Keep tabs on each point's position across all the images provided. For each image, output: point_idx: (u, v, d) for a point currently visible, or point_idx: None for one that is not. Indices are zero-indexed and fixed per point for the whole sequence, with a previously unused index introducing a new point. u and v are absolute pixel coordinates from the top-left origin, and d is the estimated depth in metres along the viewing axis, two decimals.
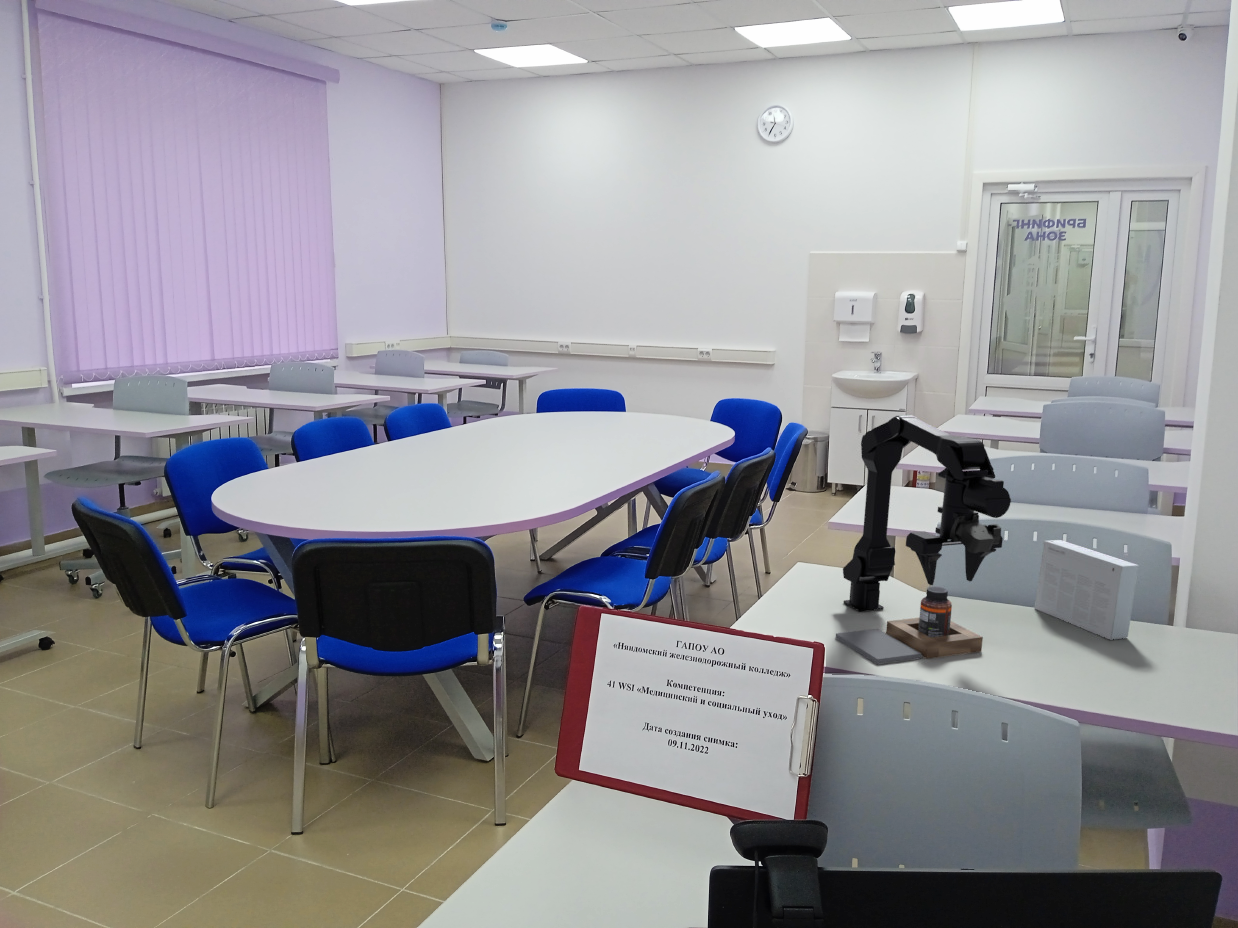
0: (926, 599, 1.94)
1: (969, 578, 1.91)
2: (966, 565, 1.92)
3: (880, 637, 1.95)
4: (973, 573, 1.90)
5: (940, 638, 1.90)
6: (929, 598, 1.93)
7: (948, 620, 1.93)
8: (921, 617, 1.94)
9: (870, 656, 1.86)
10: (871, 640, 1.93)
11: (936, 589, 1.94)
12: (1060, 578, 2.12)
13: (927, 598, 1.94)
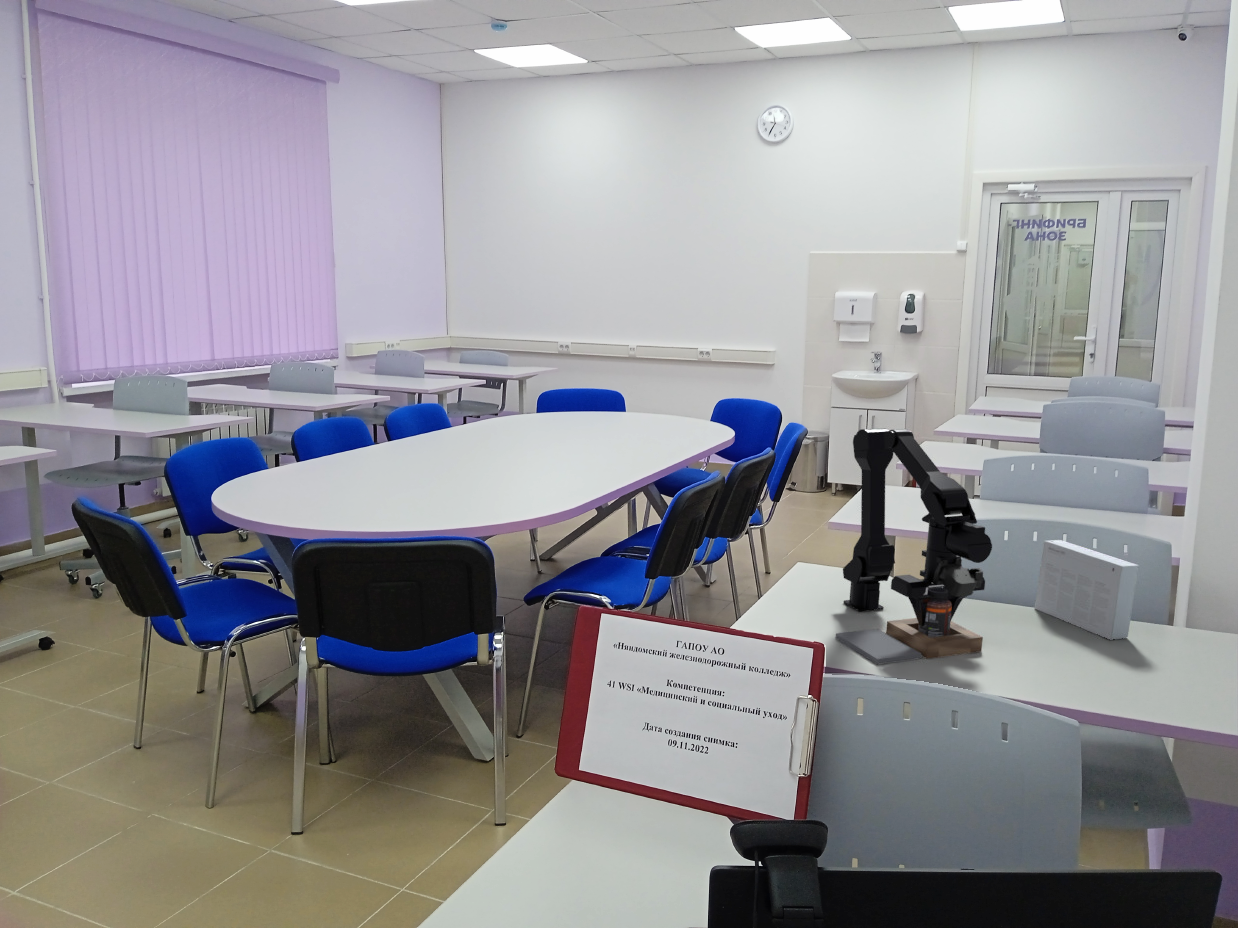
0: None
1: None
2: None
3: (880, 637, 1.95)
4: (951, 615, 1.95)
5: (940, 638, 1.90)
6: None
7: (948, 620, 1.93)
8: None
9: (870, 656, 1.86)
10: (871, 640, 1.93)
11: (936, 589, 1.94)
12: (1060, 578, 2.12)
13: None
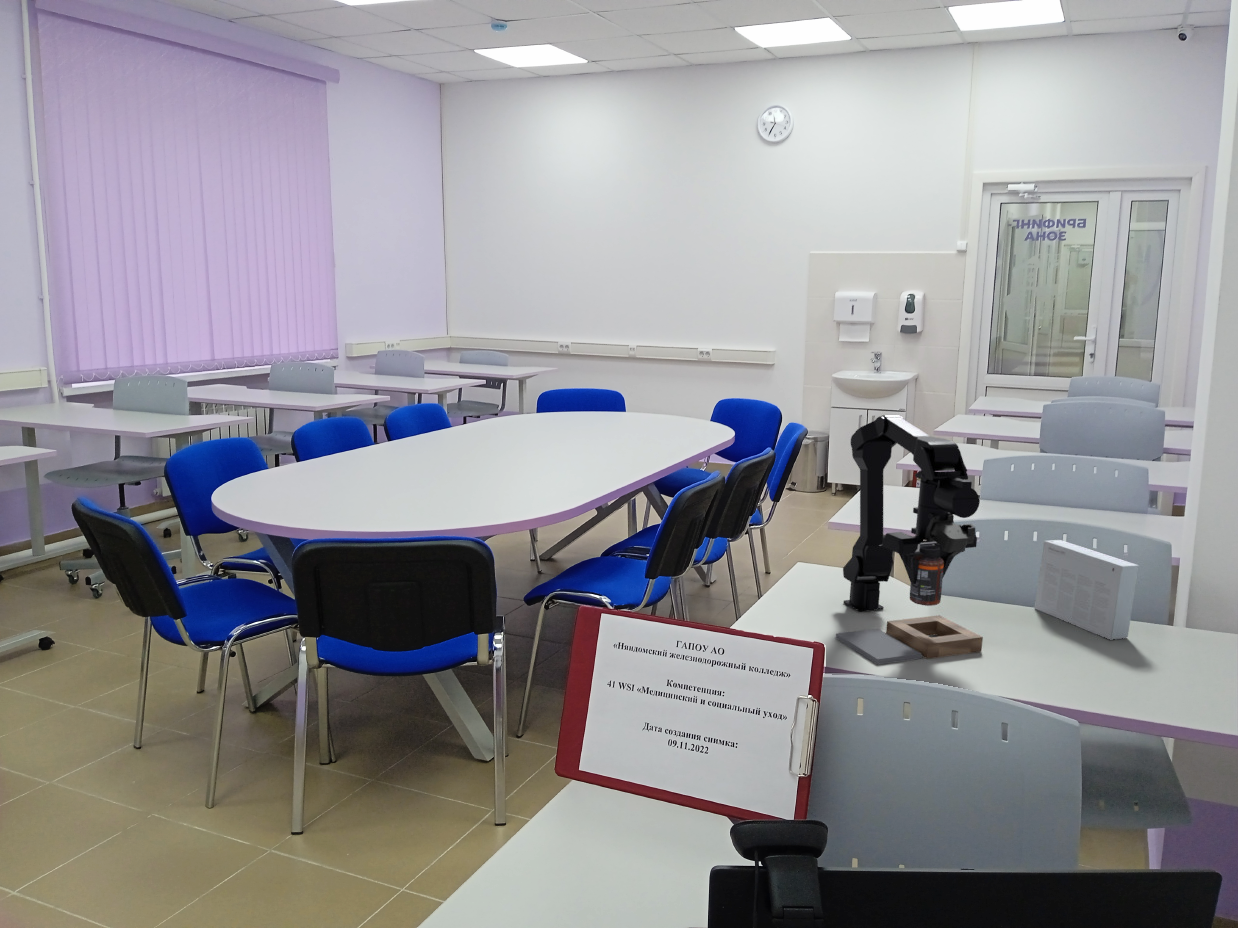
0: None
1: None
2: None
3: (880, 637, 1.95)
4: (943, 573, 1.93)
5: (940, 638, 1.90)
6: None
7: (940, 578, 1.90)
8: None
9: (870, 656, 1.86)
10: (871, 640, 1.93)
11: (928, 546, 1.91)
12: (1060, 578, 2.12)
13: None
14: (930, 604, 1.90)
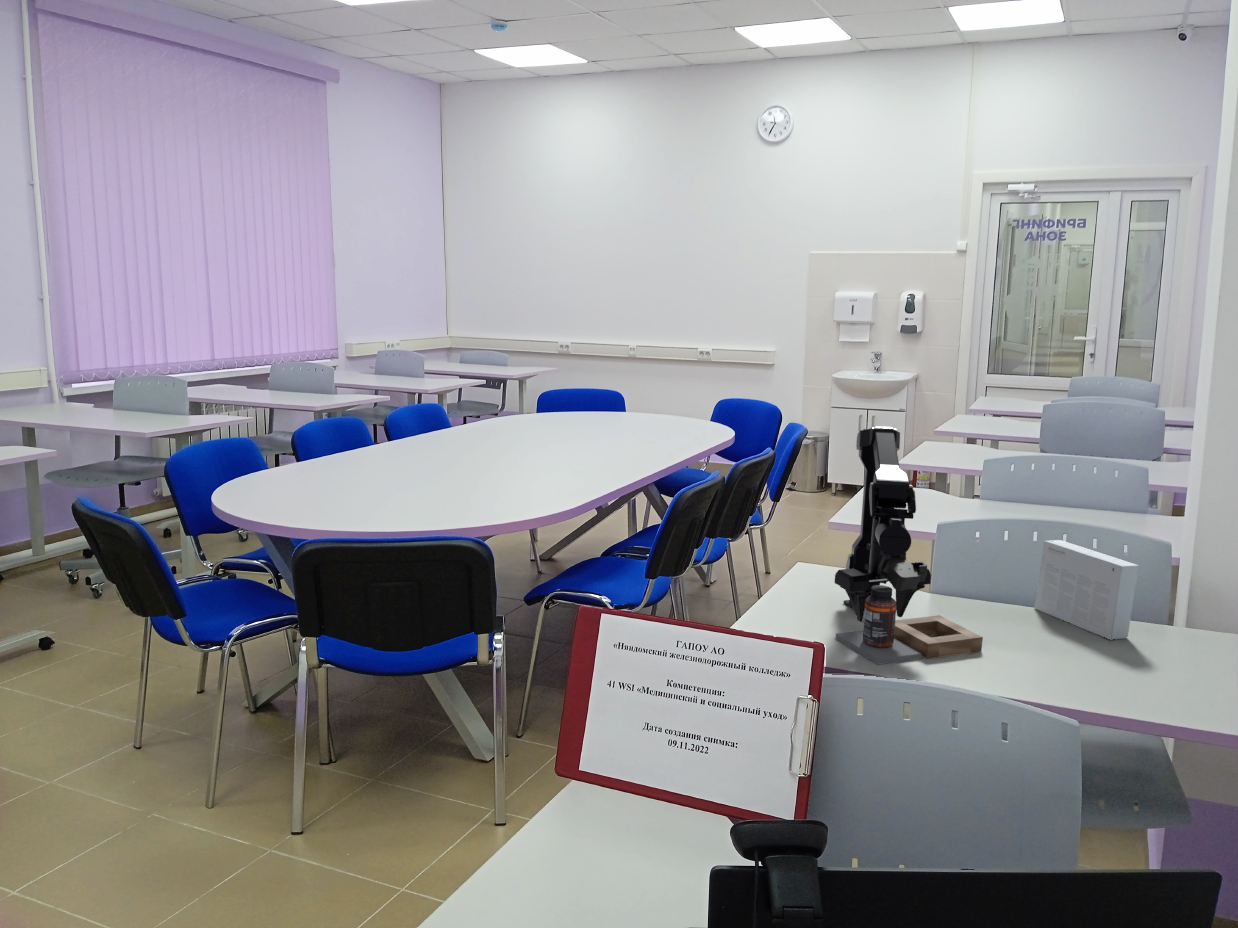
0: (870, 598, 1.90)
1: (899, 614, 1.92)
2: (896, 601, 1.93)
3: None
4: (903, 609, 1.92)
5: (940, 638, 1.90)
6: (873, 597, 1.89)
7: (892, 619, 1.89)
8: (865, 616, 1.91)
9: (870, 656, 1.86)
10: None
11: (880, 588, 1.90)
12: (1060, 578, 2.12)
13: (871, 597, 1.90)
14: (882, 646, 1.89)
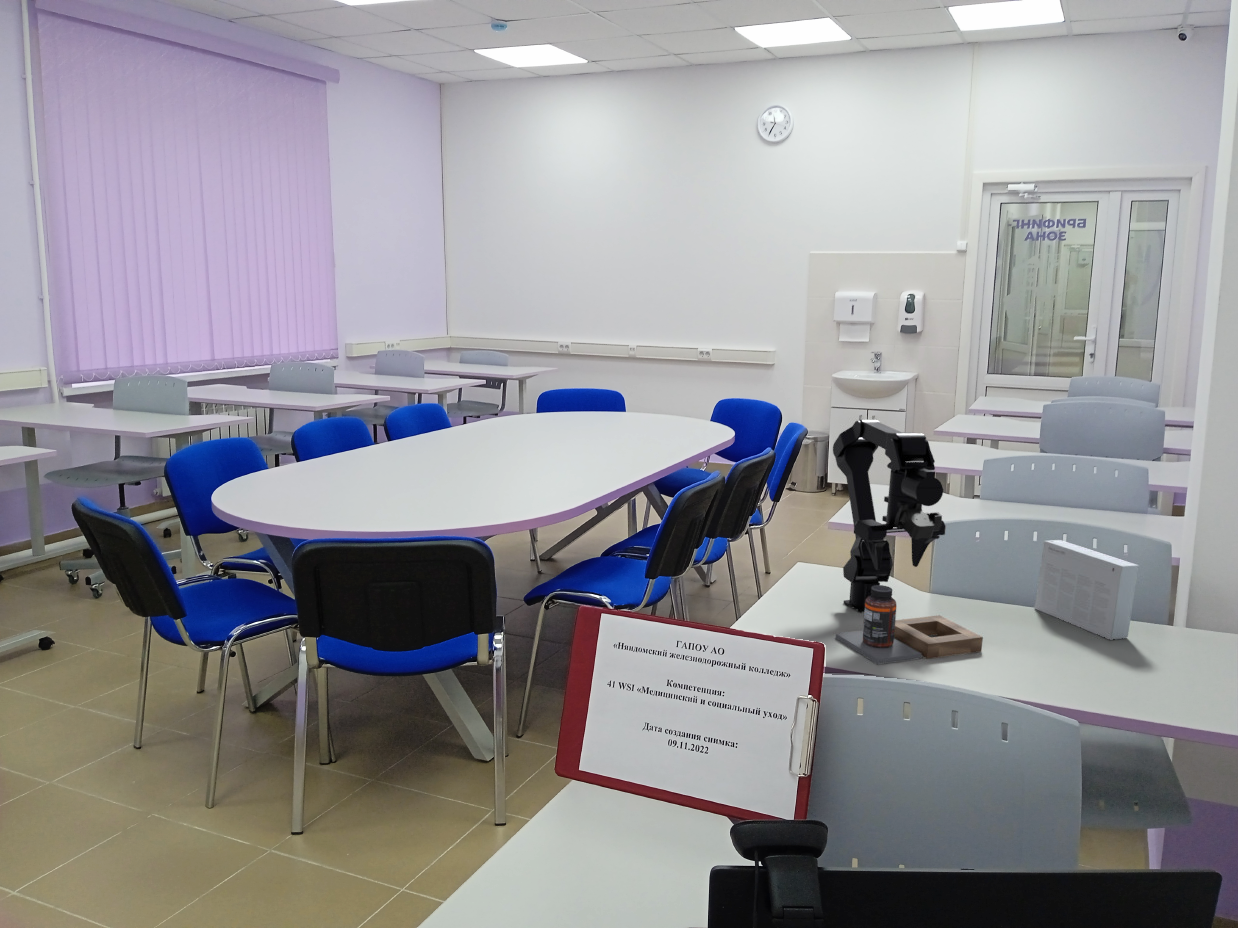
0: (870, 598, 1.90)
1: (915, 564, 2.03)
2: (912, 552, 2.04)
3: None
4: (918, 559, 2.02)
5: (940, 638, 1.90)
6: (873, 597, 1.89)
7: (892, 619, 1.89)
8: (865, 616, 1.91)
9: (870, 656, 1.86)
10: None
11: (880, 588, 1.90)
12: (1060, 578, 2.12)
13: (871, 597, 1.90)
14: (882, 646, 1.89)
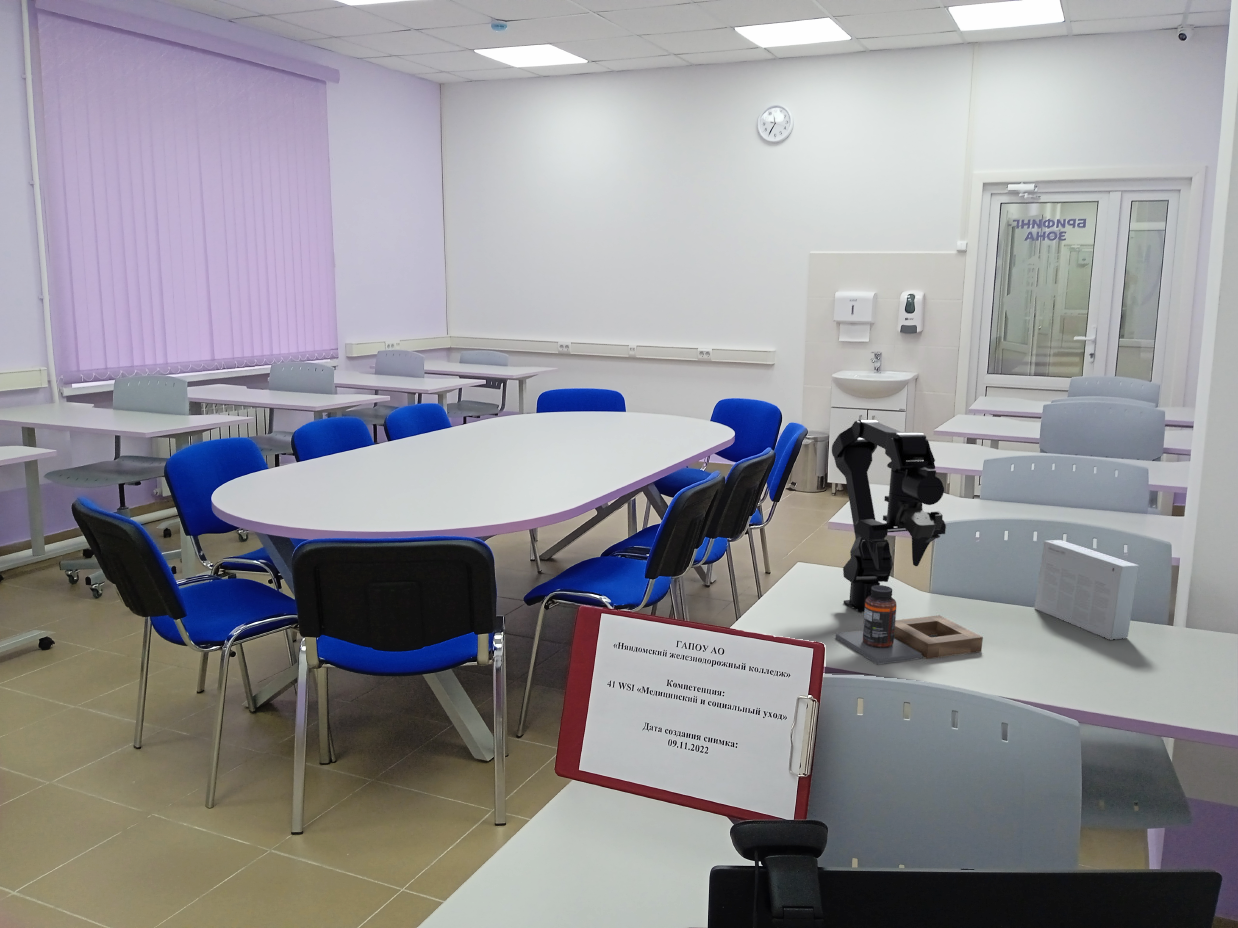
0: (870, 598, 1.90)
1: (915, 563, 2.03)
2: (913, 551, 2.04)
3: None
4: (919, 558, 2.02)
5: (940, 638, 1.90)
6: (873, 597, 1.89)
7: (892, 619, 1.89)
8: (865, 616, 1.91)
9: (870, 656, 1.86)
10: None
11: (880, 588, 1.90)
12: (1060, 578, 2.12)
13: (871, 597, 1.90)
14: (882, 646, 1.89)
